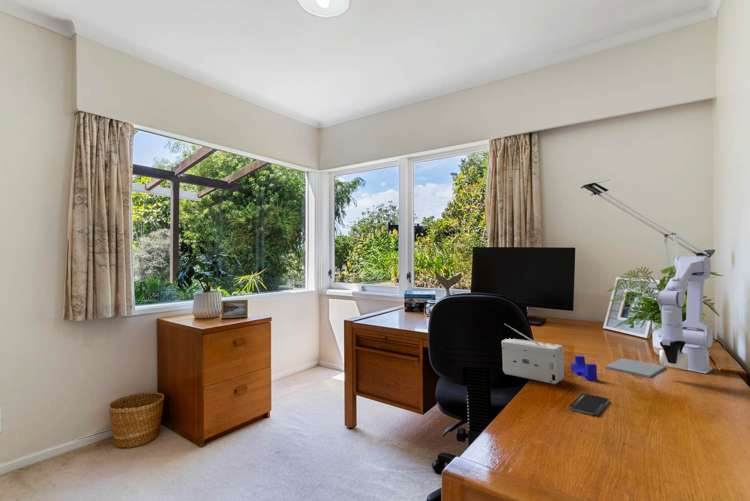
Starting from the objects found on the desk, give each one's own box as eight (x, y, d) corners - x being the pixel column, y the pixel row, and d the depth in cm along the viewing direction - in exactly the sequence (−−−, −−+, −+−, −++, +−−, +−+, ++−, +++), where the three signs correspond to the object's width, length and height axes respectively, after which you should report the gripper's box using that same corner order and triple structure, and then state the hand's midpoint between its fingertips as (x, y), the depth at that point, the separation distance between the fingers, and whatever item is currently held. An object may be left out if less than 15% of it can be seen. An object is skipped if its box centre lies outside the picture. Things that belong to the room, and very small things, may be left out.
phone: (567, 407, 107) (582, 392, 118) (568, 411, 107) (582, 396, 118) (598, 414, 101) (610, 398, 112) (598, 418, 101) (611, 402, 112)
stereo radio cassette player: (565, 380, 131) (563, 325, 132) (558, 386, 125) (556, 329, 126) (509, 369, 146) (507, 320, 146) (500, 374, 140) (498, 323, 140)
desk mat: (622, 360, 153) (622, 358, 153) (665, 368, 141) (665, 366, 141) (604, 368, 144) (604, 366, 144) (649, 377, 131) (649, 375, 131)
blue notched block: (571, 370, 142) (570, 355, 142) (583, 371, 142) (582, 355, 142) (583, 381, 130) (583, 364, 131) (597, 381, 130) (596, 365, 130)
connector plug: (661, 362, 132) (660, 345, 132) (689, 367, 125) (688, 349, 125) (658, 364, 130) (657, 346, 130) (686, 369, 124) (686, 351, 124)
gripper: (665, 319, 135) (666, 355, 135) (651, 325, 127) (652, 363, 127) (689, 322, 130) (690, 359, 129) (676, 328, 121) (677, 368, 121)
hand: (673, 362), depth 128 cm, fingers closed on connector plug, 3 cm apart
